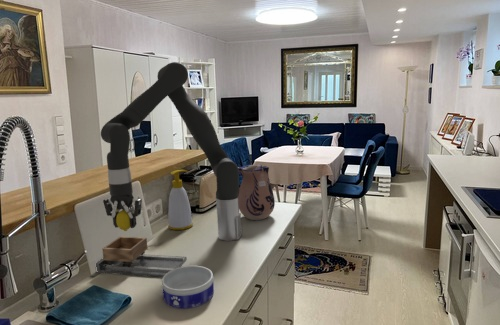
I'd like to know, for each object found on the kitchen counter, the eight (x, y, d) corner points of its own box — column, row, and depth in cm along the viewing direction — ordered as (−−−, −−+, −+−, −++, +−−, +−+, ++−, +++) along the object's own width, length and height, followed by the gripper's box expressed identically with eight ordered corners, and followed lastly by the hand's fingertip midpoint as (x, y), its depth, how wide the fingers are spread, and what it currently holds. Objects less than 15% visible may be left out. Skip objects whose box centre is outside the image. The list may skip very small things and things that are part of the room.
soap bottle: (197, 226, 171) (193, 170, 166) (174, 232, 165) (169, 174, 160) (187, 220, 180) (183, 167, 175) (164, 225, 174) (159, 170, 169)
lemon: (119, 228, 135) (117, 207, 133) (135, 227, 135) (133, 206, 134) (115, 234, 130) (113, 212, 128) (131, 233, 130) (129, 211, 128)
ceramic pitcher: (276, 222, 171) (274, 169, 166) (230, 224, 172) (227, 171, 167) (274, 211, 188) (272, 162, 184) (232, 212, 189) (229, 164, 184)
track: (186, 259, 137) (185, 250, 137) (170, 277, 124) (169, 268, 123) (118, 255, 143) (117, 247, 143) (96, 272, 130) (95, 263, 129)
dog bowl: (221, 285, 118) (220, 267, 117) (202, 312, 104) (200, 292, 102) (178, 280, 122) (176, 263, 121) (153, 306, 108) (151, 286, 107)
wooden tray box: (148, 253, 139) (146, 237, 137) (132, 267, 128) (131, 250, 127) (121, 252, 141) (119, 236, 140) (104, 265, 130) (102, 248, 129)
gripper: (144, 178, 131) (148, 224, 134) (108, 178, 134) (113, 222, 137) (133, 183, 124) (138, 231, 127) (95, 183, 127) (100, 230, 130)
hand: (125, 226), depth 132 cm, fingers closed on lemon, 5 cm apart
